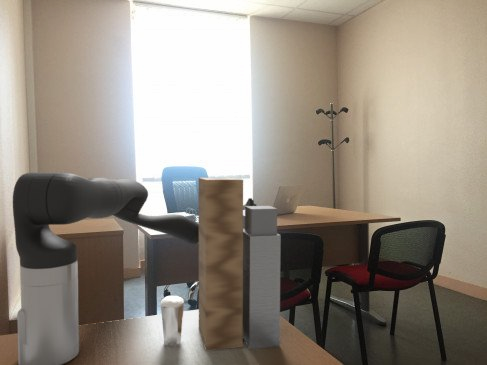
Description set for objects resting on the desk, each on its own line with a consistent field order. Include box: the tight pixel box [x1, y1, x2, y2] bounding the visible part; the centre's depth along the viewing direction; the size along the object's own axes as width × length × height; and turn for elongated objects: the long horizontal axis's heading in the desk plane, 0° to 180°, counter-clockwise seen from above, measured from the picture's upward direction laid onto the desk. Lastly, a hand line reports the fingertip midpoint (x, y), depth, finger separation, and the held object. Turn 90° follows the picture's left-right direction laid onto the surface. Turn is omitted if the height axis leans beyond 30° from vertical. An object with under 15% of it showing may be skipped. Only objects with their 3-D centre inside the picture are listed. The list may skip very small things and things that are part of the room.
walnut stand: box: [198, 177, 244, 351], centre depth 79 cm, size 7×10×32 cm
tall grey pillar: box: [242, 227, 282, 350], centre depth 81 cm, size 6×12×22 cm, turn 14°
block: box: [243, 205, 278, 236], centre depth 84 cm, size 5×19×5 cm, turn 14°
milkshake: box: [160, 293, 188, 348], centre depth 77 cm, size 4×5×10 cm
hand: (234, 201), depth 99 cm, fingers open, 8 cm apart
